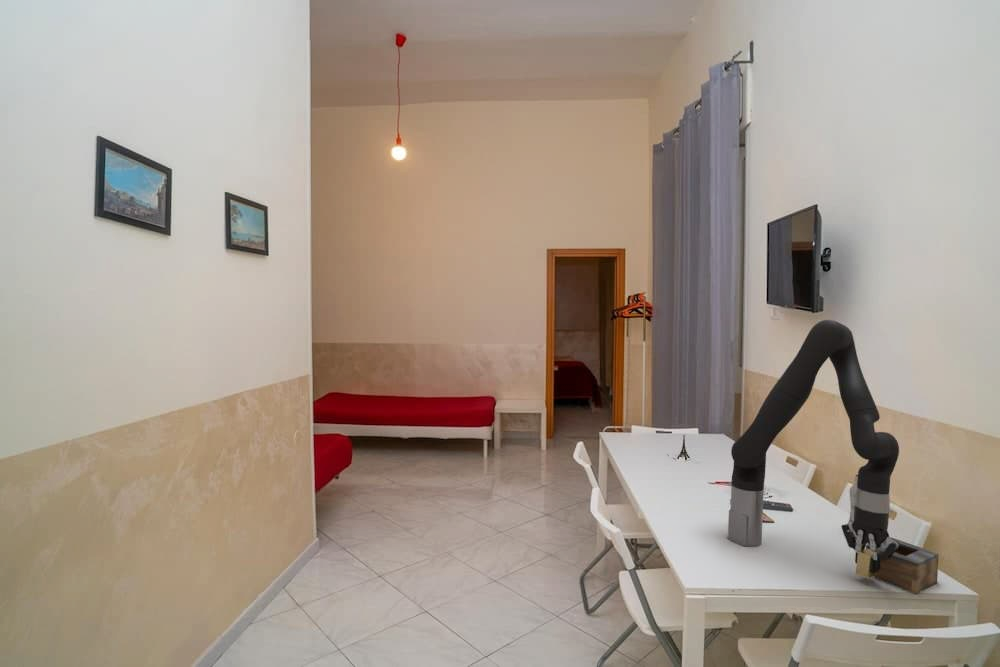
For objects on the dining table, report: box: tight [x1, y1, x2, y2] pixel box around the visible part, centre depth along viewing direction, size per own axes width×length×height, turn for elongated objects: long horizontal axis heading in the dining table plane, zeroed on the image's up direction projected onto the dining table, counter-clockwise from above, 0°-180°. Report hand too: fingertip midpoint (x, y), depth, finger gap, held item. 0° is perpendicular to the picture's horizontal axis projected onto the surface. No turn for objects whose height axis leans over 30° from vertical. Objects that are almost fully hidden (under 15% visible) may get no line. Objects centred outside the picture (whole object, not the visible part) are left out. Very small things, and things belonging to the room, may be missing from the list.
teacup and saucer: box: [764, 484, 770, 495], centre depth 205 cm, size 9×8×4 cm
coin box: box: [865, 536, 940, 595], centre depth 141 cm, size 12×12×8 cm
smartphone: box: [762, 512, 775, 524], centre depth 184 cm, size 8×1×15 cm
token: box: [855, 548, 878, 579], centre depth 139 cm, size 5×3×6 cm, turn 119°
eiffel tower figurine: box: [676, 434, 691, 461], centre depth 254 cm, size 15×10×13 cm
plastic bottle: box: [847, 474, 858, 539], centre depth 166 cm, size 6×7×20 cm
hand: (867, 568), depth 138 cm, fingers closed on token, 2 cm apart
